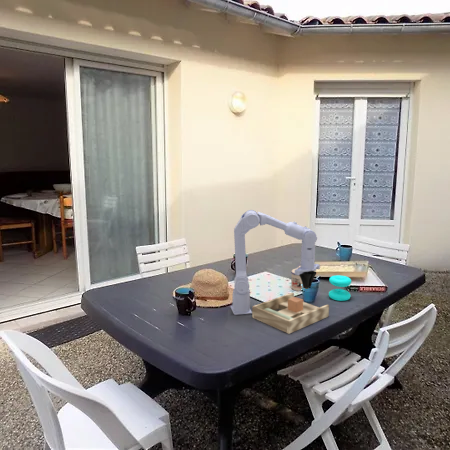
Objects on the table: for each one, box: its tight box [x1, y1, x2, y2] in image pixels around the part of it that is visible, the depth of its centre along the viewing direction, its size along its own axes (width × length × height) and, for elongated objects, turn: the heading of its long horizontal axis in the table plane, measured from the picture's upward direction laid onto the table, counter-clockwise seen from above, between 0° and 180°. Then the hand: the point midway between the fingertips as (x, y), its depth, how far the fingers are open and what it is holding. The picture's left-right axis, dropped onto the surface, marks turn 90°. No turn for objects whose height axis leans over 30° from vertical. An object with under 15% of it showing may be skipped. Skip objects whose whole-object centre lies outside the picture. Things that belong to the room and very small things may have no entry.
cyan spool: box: [328, 274, 352, 302], centre depth 184 cm, size 10×10×10 cm
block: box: [288, 296, 304, 312], centre depth 164 cm, size 4×4×4 cm
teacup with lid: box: [290, 265, 302, 292], centre depth 196 cm, size 12×9×12 cm
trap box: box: [251, 292, 330, 335], centre depth 162 cm, size 25×20×5 cm
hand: (306, 287), depth 167 cm, fingers closed
